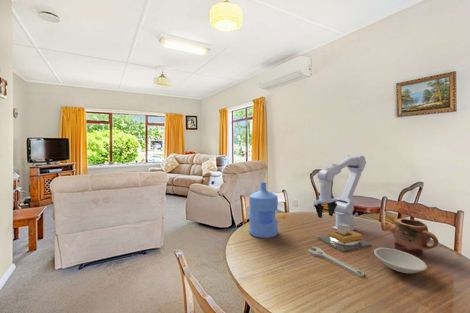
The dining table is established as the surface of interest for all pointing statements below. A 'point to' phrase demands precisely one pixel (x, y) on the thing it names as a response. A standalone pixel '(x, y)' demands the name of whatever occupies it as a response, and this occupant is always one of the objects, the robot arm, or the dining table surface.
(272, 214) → the water jug
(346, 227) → the rectangular block
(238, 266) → the dining table surface
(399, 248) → the brown ceramic rounded pot
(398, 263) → the dish
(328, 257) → the adjustable wrench
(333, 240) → the bracket rosette
